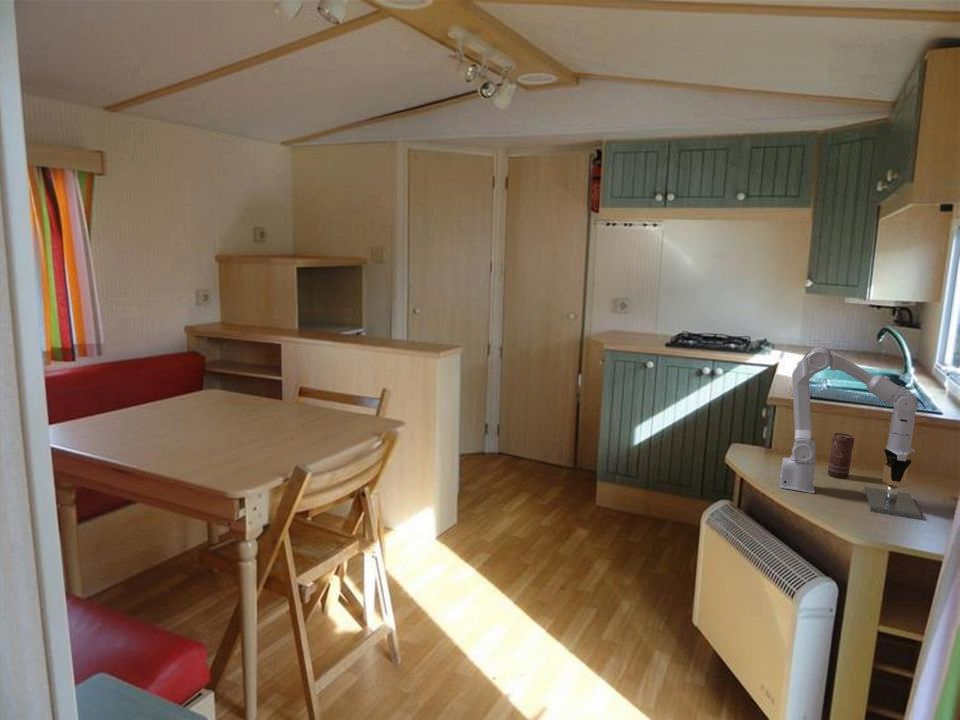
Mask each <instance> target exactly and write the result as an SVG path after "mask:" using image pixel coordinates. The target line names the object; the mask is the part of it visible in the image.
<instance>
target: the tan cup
mask: <svg viewBox="0 0 960 720" xmlns="http://www.w3.org/2000/svg"><path fill="white" fill-rule="evenodd" d="M907 474H908V467H907V469H906V470H905V472H904V475H903V477H902V479H901V481H900V482H897V481H892V480H891V466H890V463H887V462H886V463H884V467H883V472H882V478H881V479H882V482H883V483H885V484H886V485H887V484H891V485H896V486H899V487H902V486H903V487H904V486H905V485H906V481H907V476H908V475H907Z"/></svg>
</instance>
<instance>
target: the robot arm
mask: <svg viewBox="0 0 960 720" xmlns="http://www.w3.org/2000/svg"><path fill="white" fill-rule="evenodd" d="M828 368H829V371H842V372H843V373H845V374H847V375H848V376H850V377H851V378H854V379H855V380H857V381H859V382H860V383H862V384H864V385H866V390H867V392H868V393H869V394H870V393H871V394H872V395H873V396H875V397H877V398H878V399H880V400H882V401H883V402H884V403H886V404H890V405H892V406H893V408H892V409H893V410H892V415H891V418H890V424H889V430H888V438H887V443H886V445H885V449H884V450H883V451H884V453H885V456H886V463H890V466H891V480H892V481H897V482H900V481H901V479H902V477H903V475H904V472H905V470H906V469H907V468H908V467H910V465H911V464H912V459H907V457H908V456H909V454H911V453H912V454H913V453H914V454H915V453H916V449H915V448H911V447H912V441H913V435H914V428H915V422H916V421H915V420H916V419H915V416H916V411H917V410H918V409H919V407H920V405H919V401H918V399H917V397H916V396H915V394H914V393H913V392H912V391H911V390H909V389H906V387H905V386H900V385H898V384H896V383H894V382H893V381H892V380H891V378H890V377H888V375H885V376H883V375H873V374H871V373H869V372H868V371H867V370H864V369H863V368H861V367H860V366H858V365H857V364H855V363H854V362H852V361H851V360H849V359H848V358H846V357H845V356H844V355H843V356H842V355H841V354H840V353H837V352H835V351H833V350H831V351H830V350H829V348H827V347H825V346H821V345H820V346H815V347H813V348H811V349H810V350H809V351H807V352H806V353H805V354H804V356H803V357H802V358H801V360H800V362H798V364H797V366H796V367H795V368H794V370H793V372H792V374H791V379H792V396H793V397H792V399H793V415H794V416H793V417H794V443H793V447H792V449H791V455H790V457H783V458H782V463H781V471H780V472H781V473H780V474H779V479H778V480H779V483H780V485H779V487H780V488H781V489H785V490H786V489H787V490H792V491H798V492H803V493H809V494H815V485H814V480H815V479H814V478H815V470H816V465H817V460H816V458H815V456H816V450H817V443H816V441H815V440H814V437H813V430H812V412H811V411H812V410H811V409H812V408H811V393H810V392H811V391H810V390H811V389H810V380H811V378H812V377H813V376H815V375H816V374H817V373H821V372H822V371H824V370H826V369H828ZM907 470H908V469H907Z"/></svg>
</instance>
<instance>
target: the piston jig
mask: <svg viewBox="0 0 960 720" xmlns="http://www.w3.org/2000/svg"><path fill="white" fill-rule="evenodd" d="M886 485H887V486H886V489H884V488H883V489H882V488H875V487H870V486H863V488H862V489H863V490H862V491H863V494H864V497H865V500H866V503H867V506H868V508H869V511H870V512H872V513H873V512H874V513H879V514H884V515H891V516H896V517H903V518H908V519H914V520H918V521H919V520H921V518H922V517H921V515H922V514H921V513H920V510H919V508H918V506H917V505H916V503H915V501H914V499H913V497H912V495H911V494H910V493H907V492H902V491H899V487H900V486H896V485H891V484H887V483H886Z"/></svg>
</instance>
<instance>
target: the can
mask: <svg viewBox="0 0 960 720" xmlns="http://www.w3.org/2000/svg"><path fill="white" fill-rule="evenodd" d="M854 444H855V437H854V436H853V435H851V434H846V433H842V432H841V433H840V432H837V433H833V435H832V438H831V444H830V445H831V446H830V452H829V458H828V459H829V461H828V467H827V474H828V476H830V477H832V478H834V479H838V480H839V479H841V480H844V479H845V480H846V479H848V478H849V477H850V476H849V475H850V469H851V461H852V455H853V448H854Z"/></svg>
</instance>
